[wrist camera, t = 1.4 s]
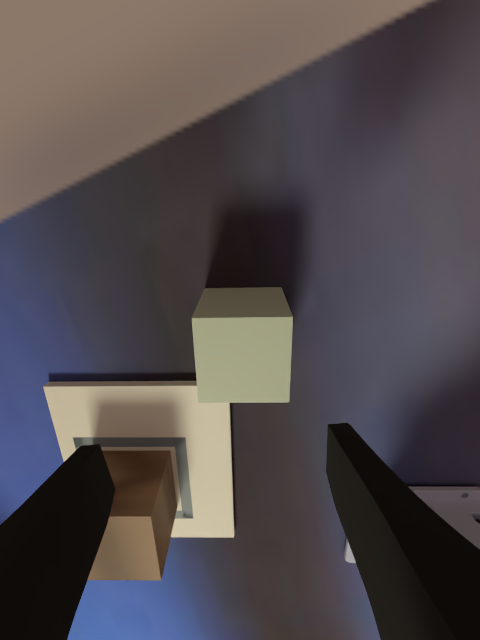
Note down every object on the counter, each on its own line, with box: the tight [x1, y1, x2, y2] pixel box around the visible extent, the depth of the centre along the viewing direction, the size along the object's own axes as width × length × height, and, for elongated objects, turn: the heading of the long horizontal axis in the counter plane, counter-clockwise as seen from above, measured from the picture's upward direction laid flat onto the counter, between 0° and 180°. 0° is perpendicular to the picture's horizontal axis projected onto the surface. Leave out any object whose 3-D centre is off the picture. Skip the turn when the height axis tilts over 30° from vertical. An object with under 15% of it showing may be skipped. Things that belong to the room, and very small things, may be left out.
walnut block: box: [88, 451, 177, 580], centre depth 21 cm, size 6×6×5 cm
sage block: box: [192, 287, 293, 403], centre depth 18 cm, size 4×4×5 cm
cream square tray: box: [43, 381, 234, 537], centre depth 24 cm, size 12×14×1 cm
